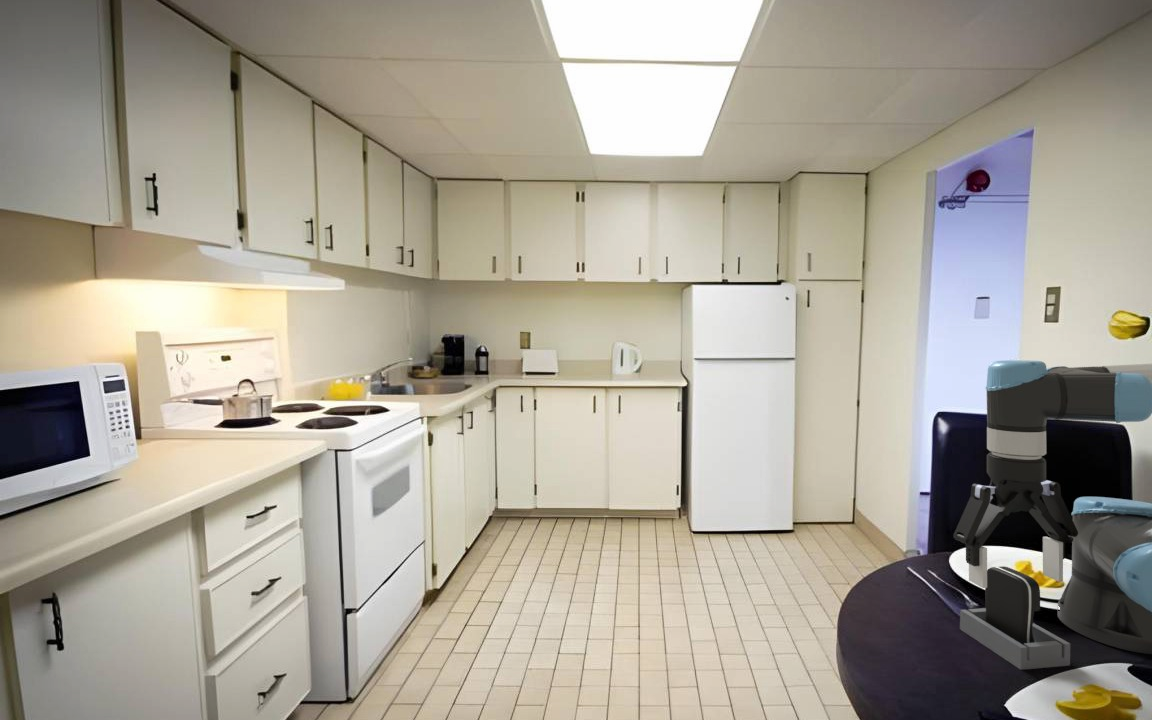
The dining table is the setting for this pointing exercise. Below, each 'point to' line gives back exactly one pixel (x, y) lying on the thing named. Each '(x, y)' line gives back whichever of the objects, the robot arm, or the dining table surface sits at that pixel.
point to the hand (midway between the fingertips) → (1015, 581)
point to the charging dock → (1016, 643)
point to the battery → (1011, 602)
